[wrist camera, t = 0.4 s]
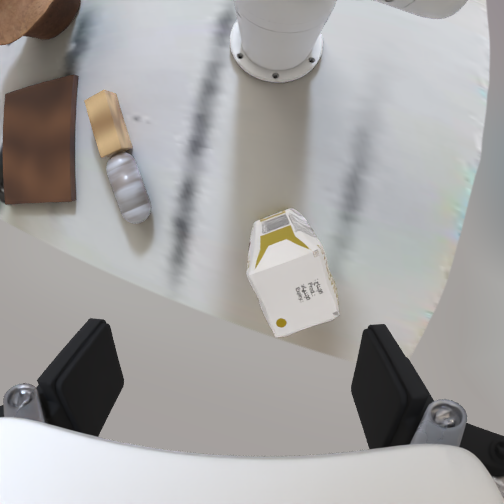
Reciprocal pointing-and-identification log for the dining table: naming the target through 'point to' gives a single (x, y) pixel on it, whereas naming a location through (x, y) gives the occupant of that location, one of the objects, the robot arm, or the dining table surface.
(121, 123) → the wood and marble capsule
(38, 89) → the chopping board
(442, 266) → the dining table surface
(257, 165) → the dining table surface
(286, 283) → the juice carton
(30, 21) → the pitcher
